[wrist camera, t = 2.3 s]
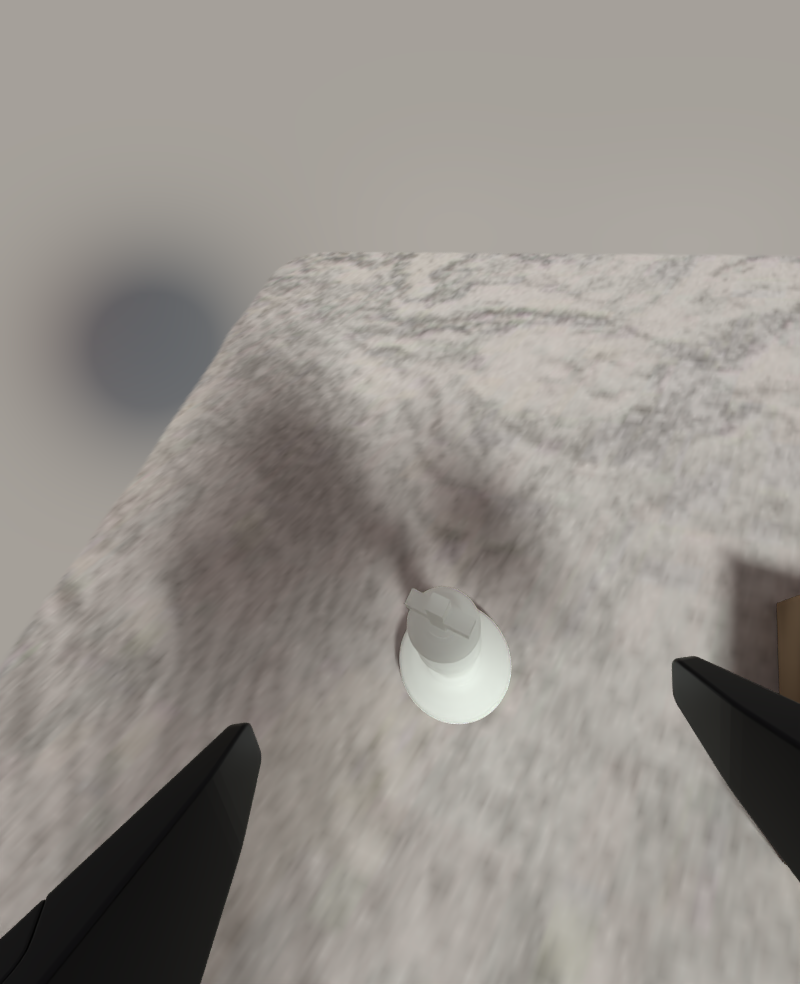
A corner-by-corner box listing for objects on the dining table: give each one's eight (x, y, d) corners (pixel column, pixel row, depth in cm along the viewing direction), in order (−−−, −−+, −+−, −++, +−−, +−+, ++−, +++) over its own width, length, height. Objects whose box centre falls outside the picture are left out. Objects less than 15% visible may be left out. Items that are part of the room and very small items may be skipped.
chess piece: (428, 587, 19) (395, 482, 11) (527, 634, 17) (582, 554, 9) (380, 685, 17) (291, 655, 9) (485, 749, 15) (502, 790, 7)
